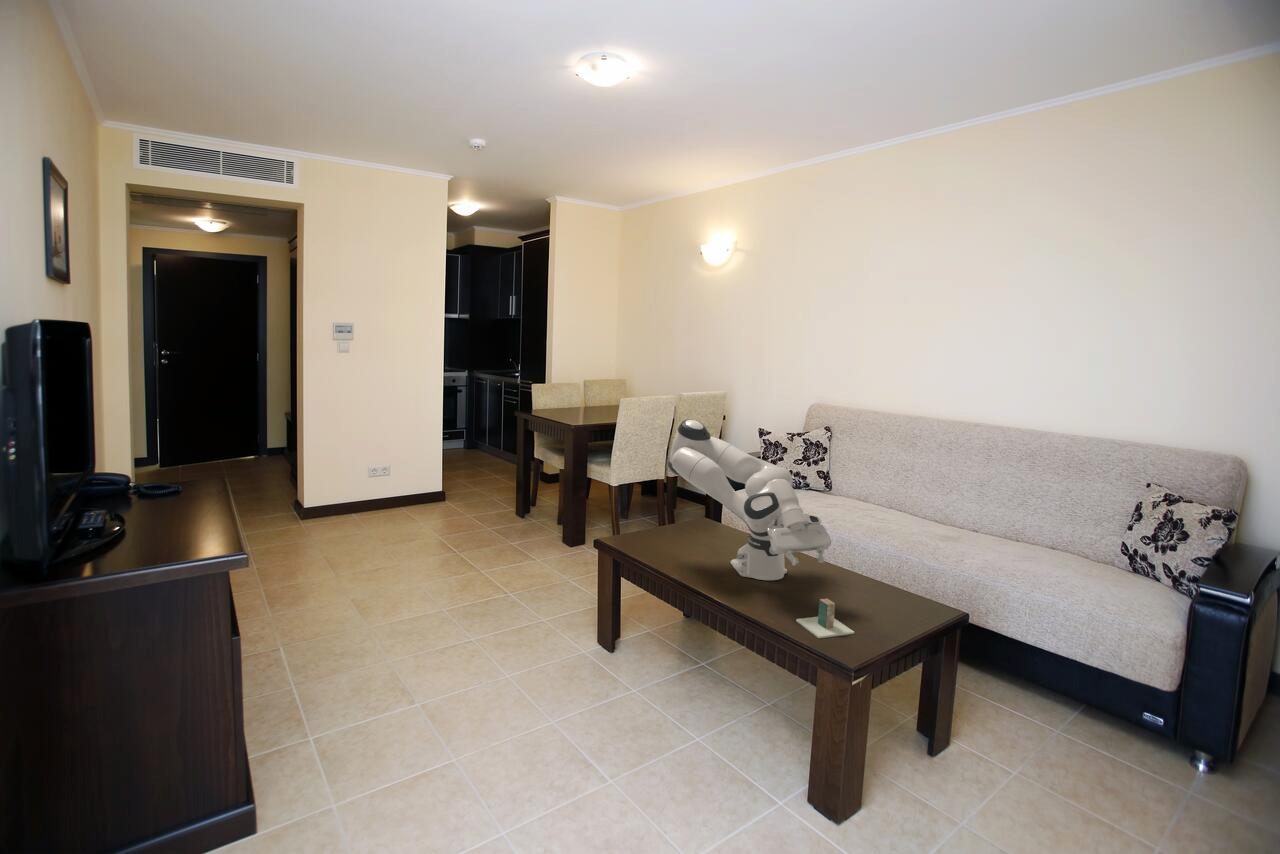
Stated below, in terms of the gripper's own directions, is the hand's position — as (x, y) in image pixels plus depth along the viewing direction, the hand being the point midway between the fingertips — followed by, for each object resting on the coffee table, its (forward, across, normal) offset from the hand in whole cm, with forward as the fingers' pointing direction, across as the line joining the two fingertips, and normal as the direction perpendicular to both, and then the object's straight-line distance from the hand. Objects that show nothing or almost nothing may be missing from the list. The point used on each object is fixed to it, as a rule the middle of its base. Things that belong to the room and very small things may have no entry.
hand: (809, 563), depth 203 cm
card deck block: (+19, -1, +3) cm, 19 cm away
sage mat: (+19, -1, +3) cm, 20 cm away
